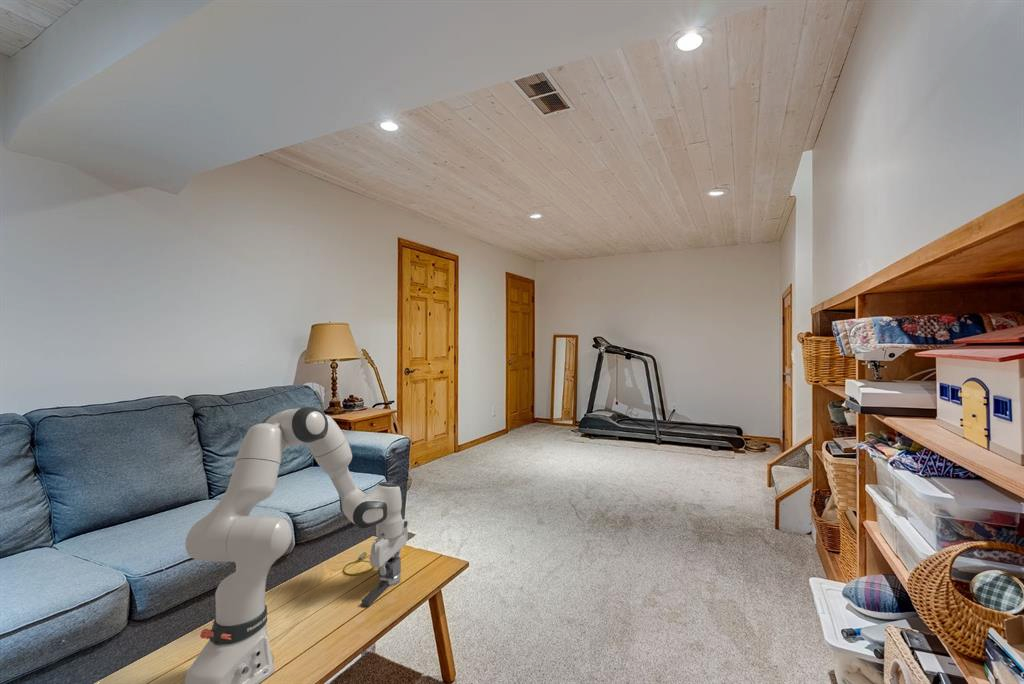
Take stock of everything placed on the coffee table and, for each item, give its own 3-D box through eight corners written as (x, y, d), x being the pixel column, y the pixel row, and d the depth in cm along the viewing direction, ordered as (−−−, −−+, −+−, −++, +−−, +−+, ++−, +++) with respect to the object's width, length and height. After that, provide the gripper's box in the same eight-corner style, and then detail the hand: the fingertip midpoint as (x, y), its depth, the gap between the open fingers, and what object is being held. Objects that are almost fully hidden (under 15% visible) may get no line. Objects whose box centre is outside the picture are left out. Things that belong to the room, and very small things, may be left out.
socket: (393, 579, 159) (392, 564, 159) (378, 577, 160) (378, 562, 160) (400, 571, 164) (400, 557, 164) (386, 569, 165) (386, 555, 165)
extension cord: (389, 561, 178) (389, 556, 178) (357, 580, 164) (357, 574, 164) (366, 555, 184) (365, 549, 184) (333, 572, 170) (333, 567, 170)
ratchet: (375, 608, 146) (374, 590, 146) (355, 605, 147) (355, 588, 147) (404, 577, 165) (403, 561, 165) (386, 575, 166) (386, 560, 166)
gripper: (382, 541, 151) (382, 584, 151) (410, 518, 171) (411, 556, 171) (365, 540, 153) (365, 582, 153) (395, 517, 173) (395, 554, 172)
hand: (389, 568), depth 162 cm, fingers open, 7 cm apart
